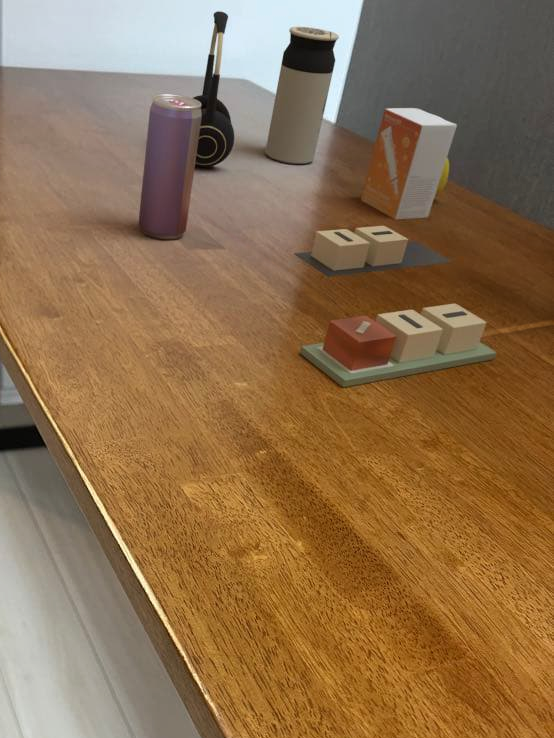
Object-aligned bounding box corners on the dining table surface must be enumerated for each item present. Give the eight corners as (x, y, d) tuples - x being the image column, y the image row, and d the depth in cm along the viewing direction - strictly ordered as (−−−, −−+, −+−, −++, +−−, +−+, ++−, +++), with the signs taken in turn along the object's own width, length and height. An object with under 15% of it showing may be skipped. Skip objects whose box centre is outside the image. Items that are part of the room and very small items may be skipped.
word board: (447, 329, 93) (459, 295, 90) (494, 359, 88) (508, 324, 86) (299, 353, 84) (308, 316, 82) (342, 387, 80) (353, 349, 77)
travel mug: (260, 158, 137) (283, 30, 126) (269, 147, 143) (292, 23, 132) (309, 168, 136) (337, 39, 124) (316, 156, 142) (343, 32, 130)
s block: (358, 343, 86) (366, 314, 84) (387, 364, 83) (397, 335, 81) (322, 348, 84) (329, 319, 82) (351, 370, 81) (359, 341, 79)
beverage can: (156, 243, 103) (172, 108, 94) (128, 226, 107) (140, 94, 97) (194, 237, 106) (213, 106, 97) (166, 221, 110) (181, 92, 100)
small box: (358, 204, 124) (383, 107, 116) (392, 203, 126) (419, 107, 118) (393, 225, 119) (422, 124, 110) (427, 222, 121) (459, 124, 113)
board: (414, 247, 113) (423, 217, 110) (451, 267, 108) (462, 237, 105) (292, 259, 104) (299, 227, 102) (326, 282, 100) (334, 250, 97)
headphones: (224, 151, 138) (247, 7, 126) (230, 179, 127) (256, 24, 114) (172, 144, 138) (189, 0, 125) (173, 172, 126) (192, 16, 114)
